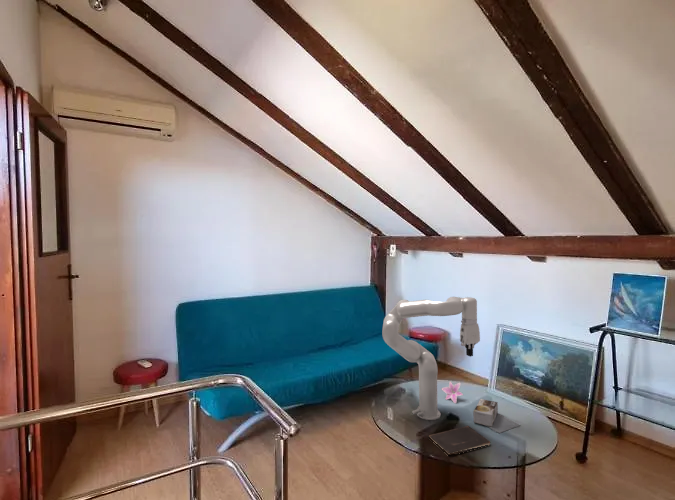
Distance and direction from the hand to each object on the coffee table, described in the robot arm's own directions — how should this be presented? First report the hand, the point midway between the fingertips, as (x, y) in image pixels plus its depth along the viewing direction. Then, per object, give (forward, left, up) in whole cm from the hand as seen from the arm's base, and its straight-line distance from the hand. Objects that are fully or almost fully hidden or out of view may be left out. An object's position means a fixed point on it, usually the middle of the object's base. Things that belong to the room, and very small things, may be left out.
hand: (469, 355), depth 199 cm
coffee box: (-2, -10, -30) cm, 31 cm away
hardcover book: (-22, -15, -34) cm, 43 cm away
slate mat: (+8, -12, -33) cm, 36 cm away
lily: (+6, +20, -33) cm, 39 cm away
